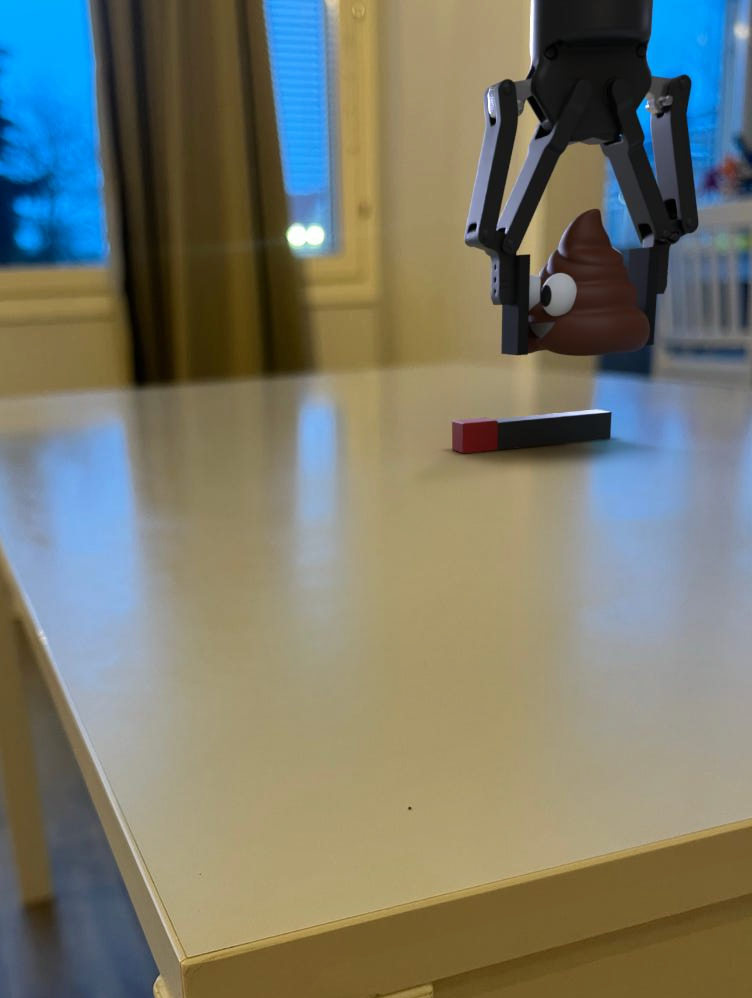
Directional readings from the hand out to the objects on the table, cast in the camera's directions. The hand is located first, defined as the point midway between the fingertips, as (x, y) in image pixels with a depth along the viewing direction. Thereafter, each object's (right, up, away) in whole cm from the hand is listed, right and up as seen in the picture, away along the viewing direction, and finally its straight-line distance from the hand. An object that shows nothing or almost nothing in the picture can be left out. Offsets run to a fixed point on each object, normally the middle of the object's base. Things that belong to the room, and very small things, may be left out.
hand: (577, 349), depth 70 cm
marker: (0, -5, +11) cm, 12 cm away
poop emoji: (0, 0, 0) cm, 0 cm away
